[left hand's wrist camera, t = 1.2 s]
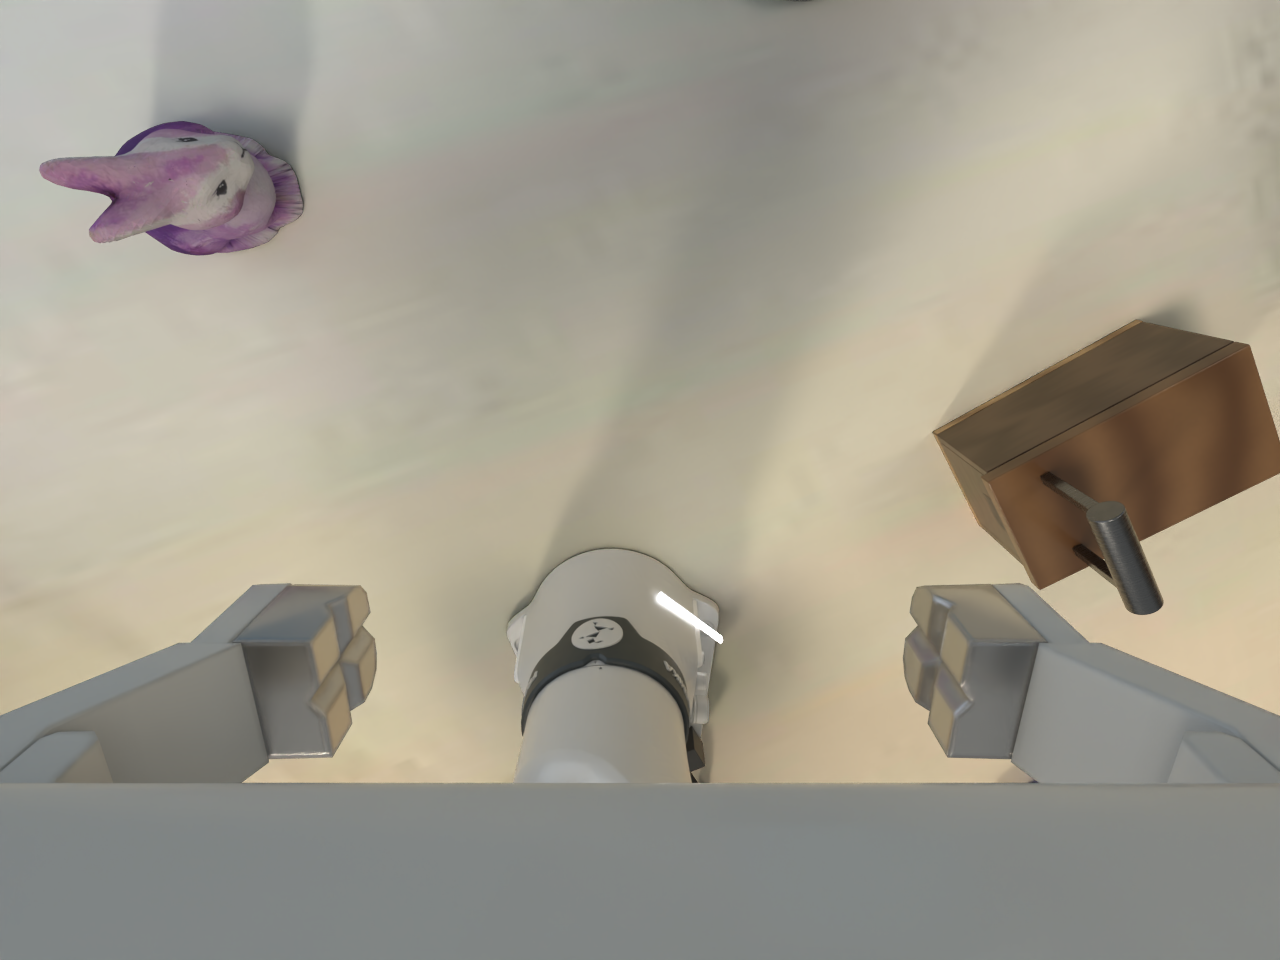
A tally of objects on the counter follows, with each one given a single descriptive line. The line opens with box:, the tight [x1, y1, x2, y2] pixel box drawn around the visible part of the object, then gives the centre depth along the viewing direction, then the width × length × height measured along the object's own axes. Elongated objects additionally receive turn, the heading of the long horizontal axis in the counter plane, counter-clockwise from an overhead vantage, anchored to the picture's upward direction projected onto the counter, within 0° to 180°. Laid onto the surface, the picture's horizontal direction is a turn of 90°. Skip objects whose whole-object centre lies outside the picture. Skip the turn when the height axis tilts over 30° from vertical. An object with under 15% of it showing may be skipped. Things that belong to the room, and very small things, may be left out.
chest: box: [933, 320, 1234, 565], centre depth 51 cm, size 17×10×9 cm, turn 122°
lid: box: [981, 342, 1280, 615], centre depth 42 cm, size 17×10×8 cm, turn 122°
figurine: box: [39, 121, 303, 255], centre depth 41 cm, size 9×10×15 cm
